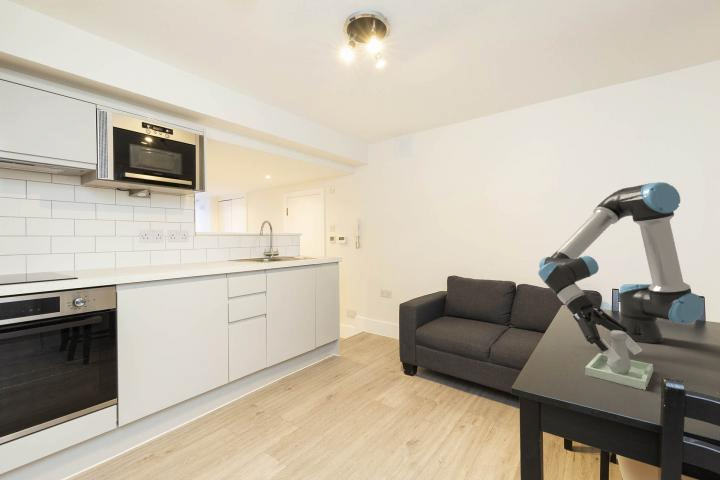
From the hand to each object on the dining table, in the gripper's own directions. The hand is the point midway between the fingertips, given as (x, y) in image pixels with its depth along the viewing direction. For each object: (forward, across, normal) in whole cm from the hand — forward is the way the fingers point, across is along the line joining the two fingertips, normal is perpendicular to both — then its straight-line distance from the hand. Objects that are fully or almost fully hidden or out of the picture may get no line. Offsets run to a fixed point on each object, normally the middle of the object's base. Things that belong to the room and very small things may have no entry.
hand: (628, 356), depth 97 cm
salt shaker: (+2, 0, -6) cm, 6 cm away
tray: (+3, 0, -6) cm, 6 cm away
